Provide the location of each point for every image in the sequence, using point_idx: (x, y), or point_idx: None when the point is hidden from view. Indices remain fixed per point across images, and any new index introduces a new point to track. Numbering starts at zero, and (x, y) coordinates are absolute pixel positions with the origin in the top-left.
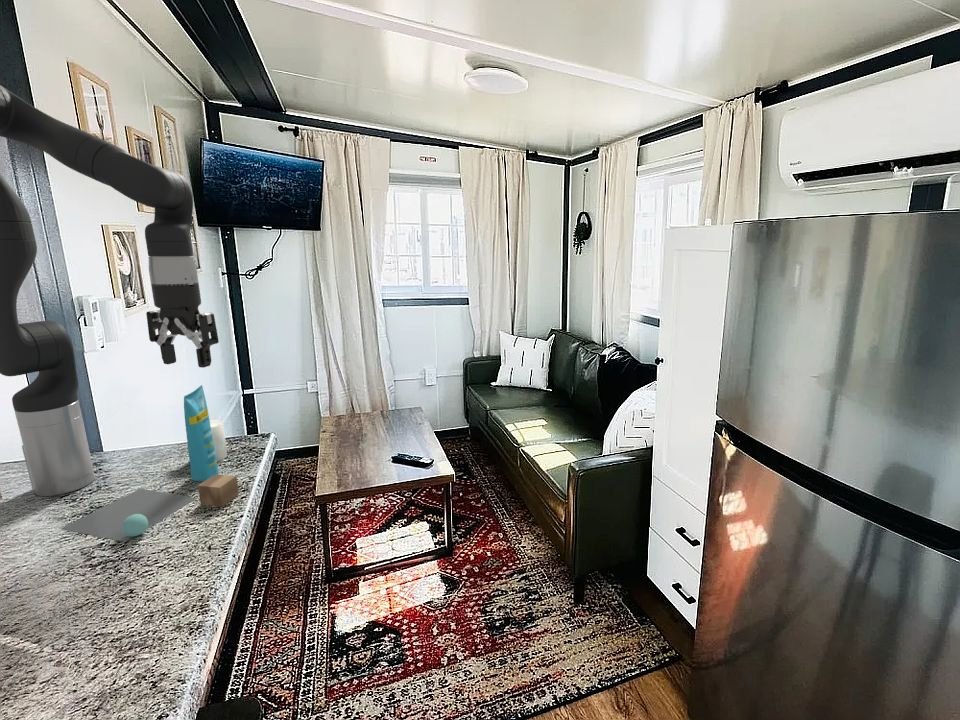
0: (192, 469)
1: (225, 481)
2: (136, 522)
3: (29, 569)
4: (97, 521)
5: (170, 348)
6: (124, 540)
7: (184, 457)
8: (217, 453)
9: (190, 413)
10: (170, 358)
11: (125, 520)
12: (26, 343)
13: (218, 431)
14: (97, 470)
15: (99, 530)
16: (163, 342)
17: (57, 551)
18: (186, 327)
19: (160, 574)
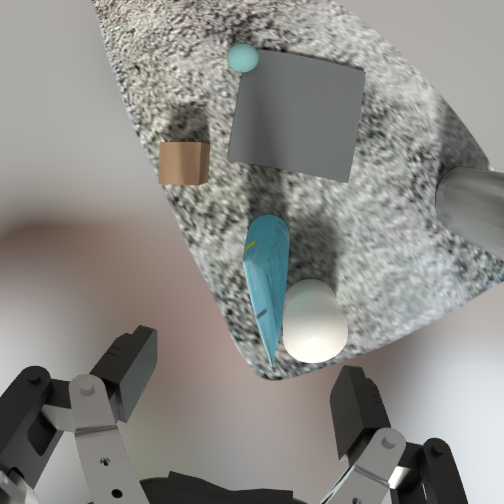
0: (275, 220)
1: (164, 163)
2: (231, 49)
3: (324, 9)
4: (332, 87)
5: (344, 435)
6: None
7: (354, 301)
8: (286, 299)
9: (247, 250)
10: (341, 395)
11: (248, 46)
12: None
13: (284, 327)
14: (451, 247)
15: (307, 66)
16: (366, 446)
17: (327, 35)
18: (92, 495)
19: (162, 21)
